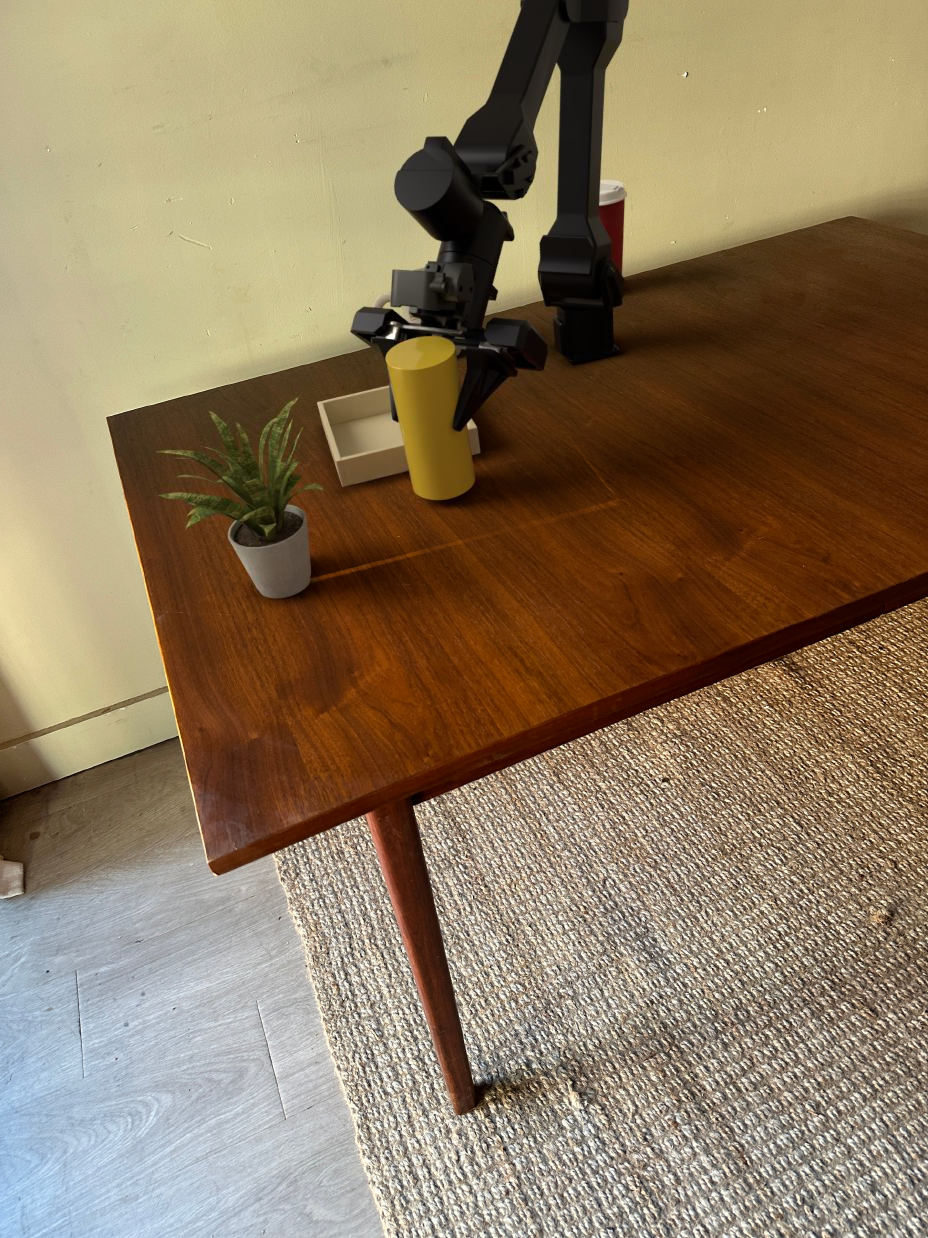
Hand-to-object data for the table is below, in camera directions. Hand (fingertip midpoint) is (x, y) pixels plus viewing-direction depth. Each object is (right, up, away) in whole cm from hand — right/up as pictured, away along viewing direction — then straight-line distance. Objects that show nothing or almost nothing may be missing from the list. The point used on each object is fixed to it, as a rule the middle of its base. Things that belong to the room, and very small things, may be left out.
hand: (425, 425), depth 87 cm
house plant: (-13, -14, 0) cm, 19 cm away
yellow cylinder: (+2, -4, +6) cm, 7 cm away
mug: (-2, +17, +35) cm, 39 cm away
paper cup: (+23, +28, +44) cm, 58 cm away
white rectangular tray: (-4, +2, +17) cm, 17 cm away
